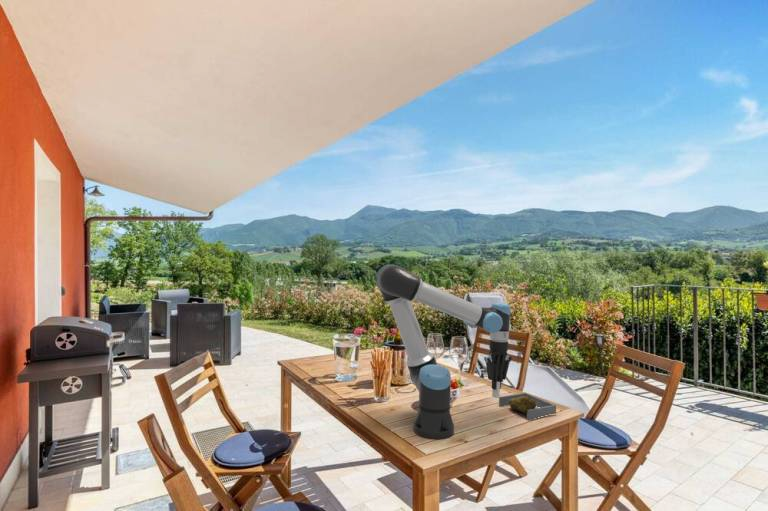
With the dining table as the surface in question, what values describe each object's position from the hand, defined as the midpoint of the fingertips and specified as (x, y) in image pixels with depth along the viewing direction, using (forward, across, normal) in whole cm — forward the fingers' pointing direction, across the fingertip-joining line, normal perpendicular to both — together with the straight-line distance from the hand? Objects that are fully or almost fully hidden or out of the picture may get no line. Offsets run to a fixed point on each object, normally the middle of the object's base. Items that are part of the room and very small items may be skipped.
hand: (495, 396), depth 178 cm
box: (+7, +17, -1) cm, 18 cm away
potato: (+8, +13, -2) cm, 15 cm away
